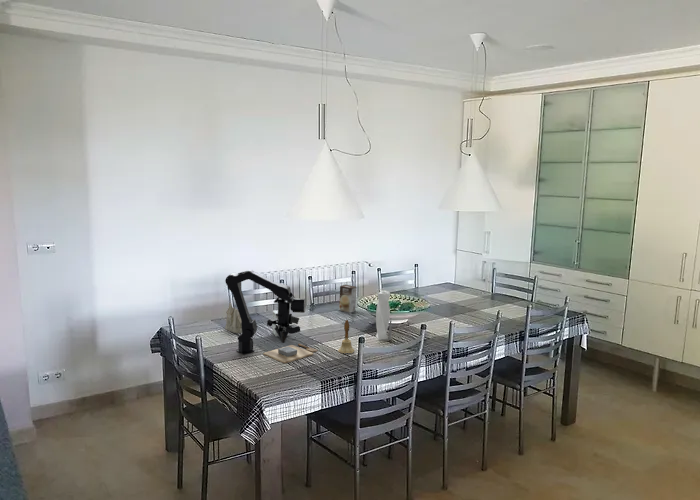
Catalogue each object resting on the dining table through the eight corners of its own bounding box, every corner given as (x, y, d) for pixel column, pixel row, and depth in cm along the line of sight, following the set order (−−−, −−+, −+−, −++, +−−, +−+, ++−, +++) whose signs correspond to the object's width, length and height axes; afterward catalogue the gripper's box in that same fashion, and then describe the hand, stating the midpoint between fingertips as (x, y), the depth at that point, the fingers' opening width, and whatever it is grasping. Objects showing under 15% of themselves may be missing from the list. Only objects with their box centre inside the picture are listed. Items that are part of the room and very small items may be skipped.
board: (284, 363, 247) (284, 361, 247) (263, 354, 258) (263, 352, 258) (313, 354, 260) (313, 353, 260) (291, 346, 271) (291, 344, 271)
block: (278, 353, 258) (287, 357, 253) (278, 348, 258) (287, 352, 253) (287, 350, 263) (297, 354, 258) (287, 346, 262) (297, 349, 257)
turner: (312, 352, 263) (312, 350, 263) (296, 345, 272) (296, 344, 272) (317, 350, 266) (317, 349, 266) (300, 344, 274) (300, 342, 274)
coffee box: (338, 310, 342) (339, 285, 339) (343, 308, 347) (344, 284, 345) (350, 312, 337) (351, 288, 334) (355, 310, 342) (356, 286, 340)
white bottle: (377, 341, 284) (379, 290, 279) (372, 337, 292) (374, 287, 287) (391, 341, 286) (394, 290, 282) (386, 336, 294) (389, 286, 289)
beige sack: (234, 334, 287) (235, 306, 285) (220, 327, 299) (221, 301, 298) (259, 331, 297) (260, 304, 296) (244, 324, 309) (246, 299, 308)
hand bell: (340, 354, 262) (341, 323, 260) (336, 348, 270) (337, 318, 267) (356, 353, 264) (357, 322, 262) (351, 347, 272) (353, 317, 270)
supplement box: (272, 332, 292) (272, 310, 290) (285, 331, 294) (285, 309, 292) (275, 336, 285) (275, 313, 283) (288, 335, 288) (289, 313, 286)
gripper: (309, 312, 257) (308, 344, 259) (284, 304, 269) (283, 334, 272) (291, 317, 249) (290, 349, 251) (266, 308, 261) (266, 339, 264)
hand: (283, 342), depth 260 cm, fingers closed
